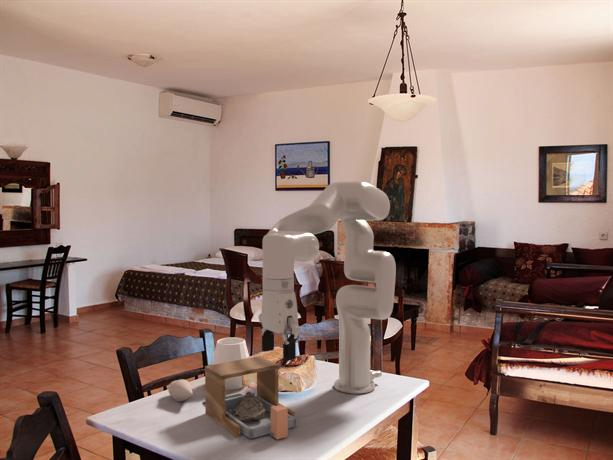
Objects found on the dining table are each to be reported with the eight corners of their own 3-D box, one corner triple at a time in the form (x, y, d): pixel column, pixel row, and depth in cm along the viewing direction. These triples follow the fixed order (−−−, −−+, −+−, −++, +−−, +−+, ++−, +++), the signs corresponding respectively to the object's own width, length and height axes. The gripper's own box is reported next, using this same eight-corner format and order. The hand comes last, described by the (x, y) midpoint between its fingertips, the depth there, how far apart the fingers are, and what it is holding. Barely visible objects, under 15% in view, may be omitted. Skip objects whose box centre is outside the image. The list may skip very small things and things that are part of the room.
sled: (256, 402, 156) (256, 378, 156) (305, 431, 137) (305, 403, 136) (214, 412, 149) (214, 387, 148) (258, 445, 129) (258, 415, 129)
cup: (225, 395, 163) (225, 348, 162) (201, 384, 173) (200, 340, 172) (261, 385, 172) (261, 341, 171) (236, 374, 182) (236, 333, 181)
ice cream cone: (192, 410, 151) (173, 402, 163) (207, 392, 154) (187, 386, 166) (177, 395, 149) (159, 389, 162) (192, 377, 152) (173, 372, 165)
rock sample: (217, 404, 145) (242, 381, 147) (230, 414, 151) (254, 392, 153) (237, 432, 138) (263, 407, 140) (250, 441, 144) (275, 417, 146)
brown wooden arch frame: (247, 392, 165) (247, 350, 164) (294, 420, 144) (294, 372, 143) (194, 405, 155) (193, 359, 154) (236, 436, 134) (236, 384, 134)
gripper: (311, 288, 127) (311, 361, 128) (272, 279, 141) (273, 345, 142) (284, 291, 123) (284, 366, 124) (247, 281, 137) (247, 349, 138)
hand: (278, 355), depth 133 cm, fingers open, 9 cm apart
